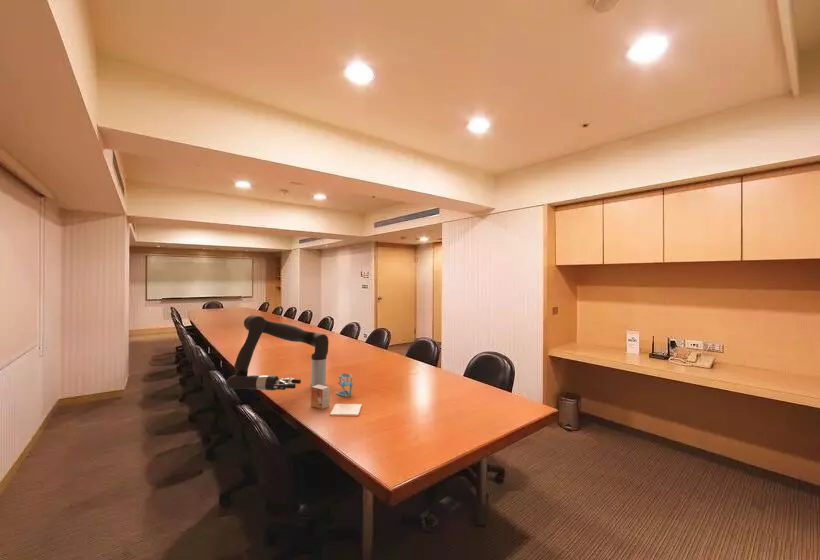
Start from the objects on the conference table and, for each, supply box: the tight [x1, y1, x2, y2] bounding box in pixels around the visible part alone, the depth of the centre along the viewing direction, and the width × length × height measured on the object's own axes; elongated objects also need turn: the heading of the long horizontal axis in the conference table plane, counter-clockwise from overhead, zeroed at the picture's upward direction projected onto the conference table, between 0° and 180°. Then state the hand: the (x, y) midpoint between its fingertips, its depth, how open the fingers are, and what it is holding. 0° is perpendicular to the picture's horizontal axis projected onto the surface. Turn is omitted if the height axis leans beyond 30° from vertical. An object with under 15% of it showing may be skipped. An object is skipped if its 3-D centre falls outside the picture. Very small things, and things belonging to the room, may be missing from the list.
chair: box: [336, 373, 354, 398], centre depth 199 cm, size 8×8×12 cm
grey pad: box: [329, 403, 363, 417], centre depth 175 cm, size 14×14×1 cm
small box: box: [310, 384, 331, 410], centre depth 180 cm, size 8×6×10 cm
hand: (298, 383), depth 180 cm, fingers open, 8 cm apart
